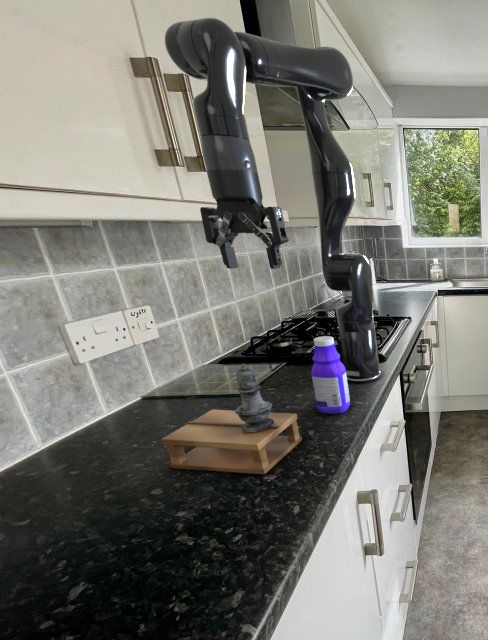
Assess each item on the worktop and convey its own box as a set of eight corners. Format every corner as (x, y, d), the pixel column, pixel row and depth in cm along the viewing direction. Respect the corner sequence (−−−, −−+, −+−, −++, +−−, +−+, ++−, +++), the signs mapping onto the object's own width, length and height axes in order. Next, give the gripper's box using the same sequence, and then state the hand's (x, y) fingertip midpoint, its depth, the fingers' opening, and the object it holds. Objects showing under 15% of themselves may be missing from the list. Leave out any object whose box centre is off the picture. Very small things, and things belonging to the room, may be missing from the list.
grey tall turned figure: (260, 434, 72) (244, 370, 67) (231, 431, 73) (214, 368, 68) (282, 419, 77) (269, 359, 73) (256, 416, 78) (241, 357, 74)
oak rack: (220, 435, 84) (212, 407, 82) (302, 440, 83) (296, 412, 80) (171, 468, 73) (160, 437, 71) (264, 474, 71) (256, 443, 69)
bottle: (355, 405, 98) (344, 335, 91) (344, 416, 92) (332, 342, 86) (326, 404, 98) (313, 334, 92) (314, 414, 93) (300, 341, 87)
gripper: (284, 171, 72) (301, 266, 78) (210, 172, 73) (232, 265, 79) (257, 166, 65) (277, 271, 71) (175, 167, 66) (202, 270, 73)
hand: (253, 268), depth 75 cm, fingers open, 8 cm apart
